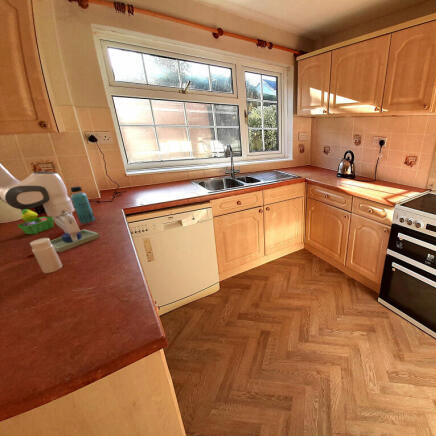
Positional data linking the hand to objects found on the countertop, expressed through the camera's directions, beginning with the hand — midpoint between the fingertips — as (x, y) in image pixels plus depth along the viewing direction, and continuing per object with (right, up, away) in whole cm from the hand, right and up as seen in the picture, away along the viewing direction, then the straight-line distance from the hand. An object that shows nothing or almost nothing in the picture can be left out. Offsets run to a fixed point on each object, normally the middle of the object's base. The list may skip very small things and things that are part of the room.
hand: (72, 238), depth 108 cm
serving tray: (0, -2, +1) cm, 2 cm away
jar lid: (0, +2, -1) cm, 2 cm away
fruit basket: (-30, +3, +14) cm, 33 cm away
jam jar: (+10, -10, -20) cm, 24 cm away
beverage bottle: (-10, +6, +21) cm, 24 cm away
